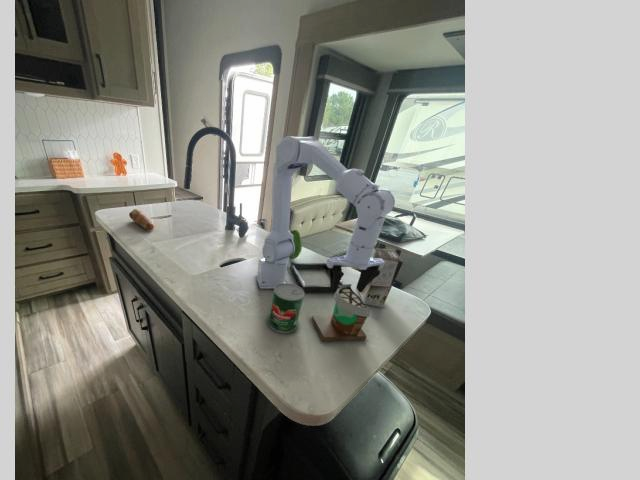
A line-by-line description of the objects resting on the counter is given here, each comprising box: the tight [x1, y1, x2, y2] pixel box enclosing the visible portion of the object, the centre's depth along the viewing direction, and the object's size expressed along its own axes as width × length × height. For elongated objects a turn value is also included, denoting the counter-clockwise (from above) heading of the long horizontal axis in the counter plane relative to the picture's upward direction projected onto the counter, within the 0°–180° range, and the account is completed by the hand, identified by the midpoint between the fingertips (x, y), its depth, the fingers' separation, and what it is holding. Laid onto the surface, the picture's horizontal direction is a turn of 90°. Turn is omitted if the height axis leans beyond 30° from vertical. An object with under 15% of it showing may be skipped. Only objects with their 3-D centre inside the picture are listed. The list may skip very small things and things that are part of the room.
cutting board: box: [311, 314, 367, 342], centre depth 74 cm, size 12×9×2 cm
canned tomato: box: [268, 282, 305, 334], centre depth 72 cm, size 8×8×11 cm
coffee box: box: [358, 247, 404, 308], centre depth 85 cm, size 9×6×16 cm
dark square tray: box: [289, 262, 346, 294], centre depth 96 cm, size 15×17×2 cm
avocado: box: [289, 228, 303, 260], centre depth 107 cm, size 8×8×12 cm
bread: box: [128, 208, 155, 232], centre depth 129 cm, size 6×19×6 cm, turn 36°
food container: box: [331, 283, 372, 337], centre depth 71 cm, size 12×6×10 cm, turn 5°
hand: (345, 290), depth 73 cm, fingers open, 7 cm apart
